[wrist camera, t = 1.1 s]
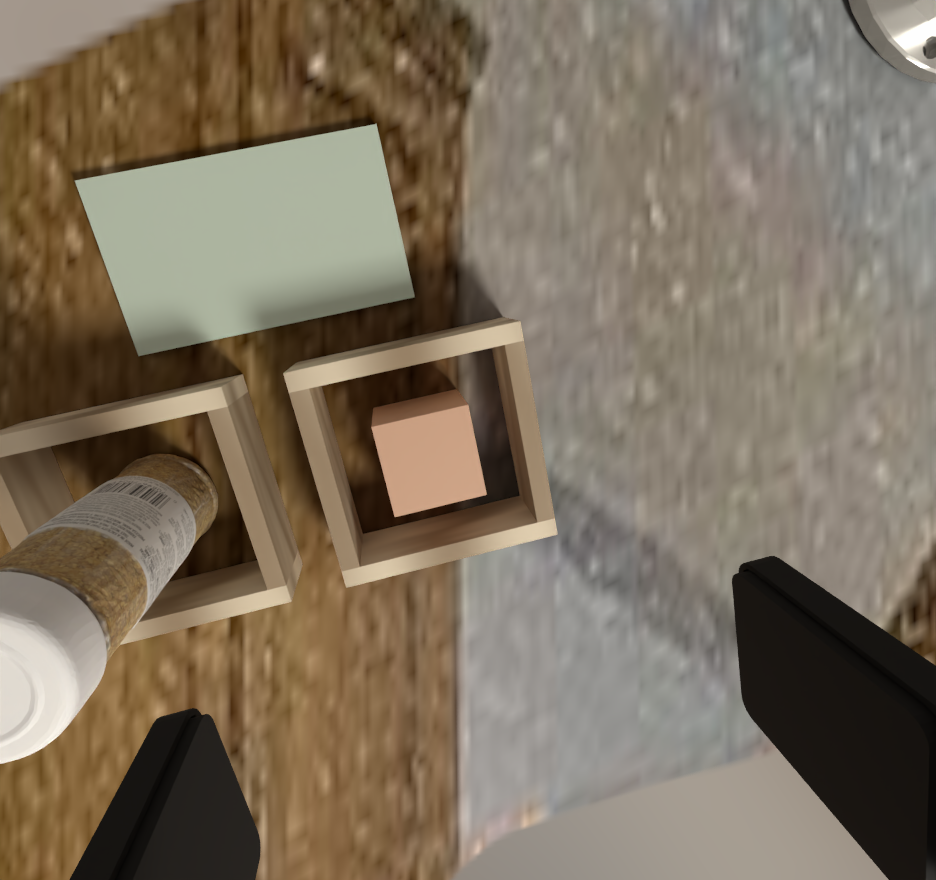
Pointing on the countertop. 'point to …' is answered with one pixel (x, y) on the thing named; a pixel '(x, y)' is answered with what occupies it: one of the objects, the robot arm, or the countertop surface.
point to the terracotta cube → (428, 452)
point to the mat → (249, 238)
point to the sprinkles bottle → (90, 590)
